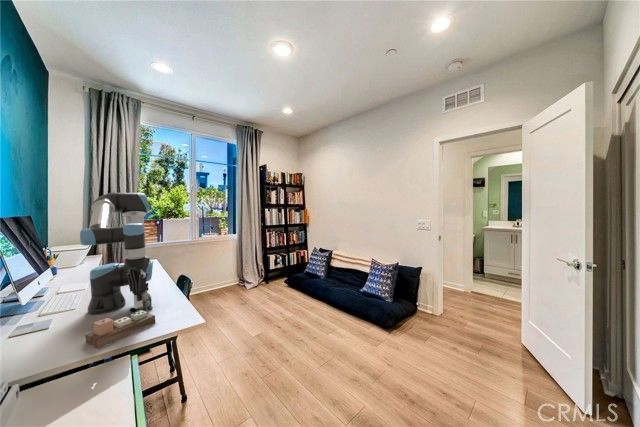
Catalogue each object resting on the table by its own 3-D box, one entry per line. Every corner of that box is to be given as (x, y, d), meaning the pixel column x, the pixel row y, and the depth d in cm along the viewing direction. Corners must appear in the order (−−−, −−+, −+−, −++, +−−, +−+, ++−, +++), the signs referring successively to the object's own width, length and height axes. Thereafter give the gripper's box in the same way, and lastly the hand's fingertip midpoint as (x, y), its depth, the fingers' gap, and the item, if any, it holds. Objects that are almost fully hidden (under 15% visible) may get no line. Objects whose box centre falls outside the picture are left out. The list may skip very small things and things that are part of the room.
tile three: (131, 325, 107) (130, 314, 107) (142, 320, 111) (141, 309, 111) (137, 327, 105) (136, 315, 105) (147, 322, 109) (146, 311, 109)
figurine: (131, 318, 114) (129, 288, 114) (127, 311, 121) (125, 283, 120) (154, 310, 122) (153, 282, 121) (149, 305, 128) (147, 278, 127)
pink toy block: (94, 334, 95) (93, 322, 95) (107, 329, 99) (107, 317, 99) (100, 337, 93) (99, 324, 93) (113, 331, 97) (112, 319, 97)
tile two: (114, 332, 101) (113, 320, 101) (126, 327, 105) (125, 316, 105) (119, 334, 99) (119, 322, 99) (131, 329, 103) (131, 318, 103)
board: (85, 342, 95) (85, 334, 95) (142, 318, 114) (142, 311, 114) (98, 348, 91) (97, 340, 90) (155, 322, 110) (154, 315, 110)
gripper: (117, 257, 106) (121, 307, 107) (134, 260, 100) (137, 313, 102) (136, 253, 112) (139, 301, 114) (153, 256, 107) (155, 306, 109)
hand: (138, 306), depth 108 cm, fingers closed
